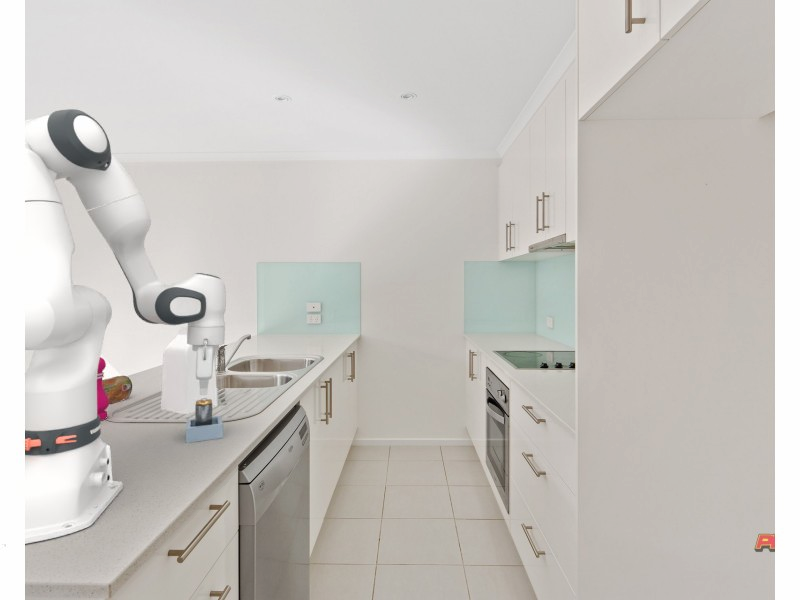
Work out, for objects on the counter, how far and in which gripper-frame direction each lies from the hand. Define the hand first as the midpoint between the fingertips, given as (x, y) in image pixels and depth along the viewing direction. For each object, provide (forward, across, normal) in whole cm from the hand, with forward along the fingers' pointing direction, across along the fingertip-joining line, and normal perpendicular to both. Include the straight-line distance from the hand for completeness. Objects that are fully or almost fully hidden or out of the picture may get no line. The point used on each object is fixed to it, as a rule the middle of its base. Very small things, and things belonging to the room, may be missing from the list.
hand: (204, 390), depth 114 cm
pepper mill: (+14, +28, +29) cm, 43 cm away
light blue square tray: (+12, +1, 0) cm, 12 cm away
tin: (+14, +48, +29) cm, 58 cm away
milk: (+12, +32, +4) cm, 34 cm away
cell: (+11, +1, 0) cm, 11 cm away
